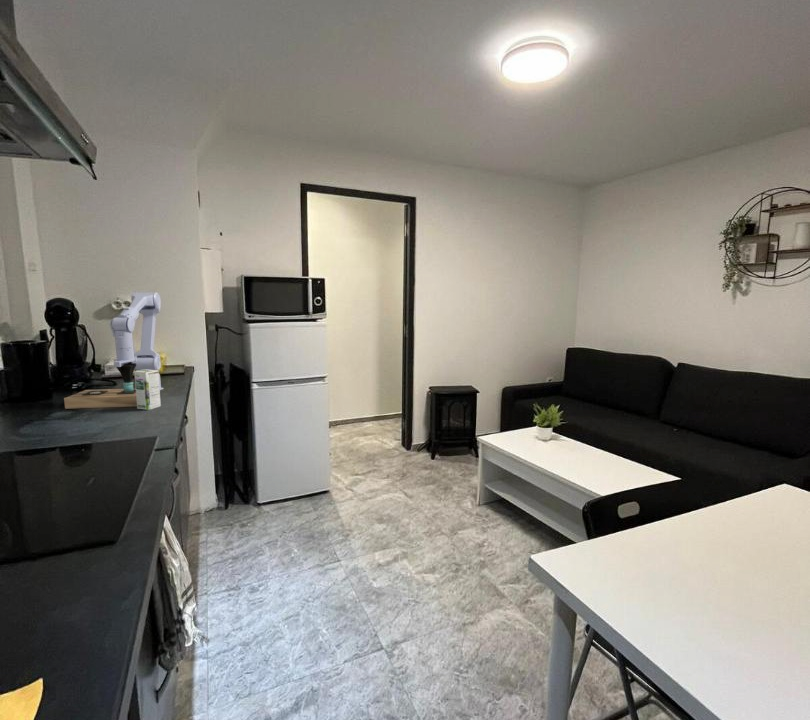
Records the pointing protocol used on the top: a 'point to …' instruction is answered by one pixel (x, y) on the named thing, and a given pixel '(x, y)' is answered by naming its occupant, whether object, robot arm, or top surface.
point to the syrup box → (147, 389)
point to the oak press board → (101, 399)
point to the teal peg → (128, 387)
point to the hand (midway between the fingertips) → (127, 382)
